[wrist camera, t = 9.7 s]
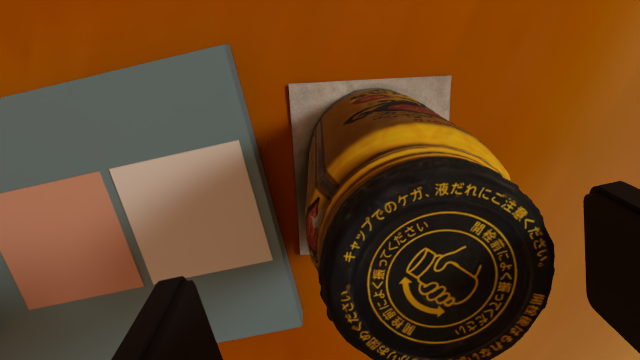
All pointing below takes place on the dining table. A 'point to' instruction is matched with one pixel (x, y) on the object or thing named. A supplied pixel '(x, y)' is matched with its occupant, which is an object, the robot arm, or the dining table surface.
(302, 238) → the condiment
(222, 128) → the board
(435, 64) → the dining table surface
